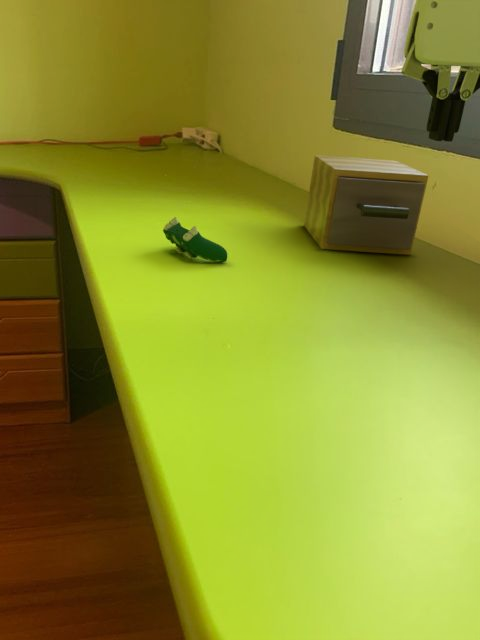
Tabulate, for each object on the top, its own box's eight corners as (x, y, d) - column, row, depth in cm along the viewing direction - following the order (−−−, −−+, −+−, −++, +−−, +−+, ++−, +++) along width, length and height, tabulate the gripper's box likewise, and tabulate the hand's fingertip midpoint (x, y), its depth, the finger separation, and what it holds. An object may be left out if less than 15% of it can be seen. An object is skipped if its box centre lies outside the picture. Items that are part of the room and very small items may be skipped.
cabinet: (410, 254, 98) (428, 175, 93) (321, 248, 98) (334, 168, 93) (381, 231, 112) (396, 160, 107) (303, 225, 112) (314, 155, 107)
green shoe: (180, 260, 95) (153, 230, 91) (198, 239, 95) (173, 208, 91) (212, 278, 88) (185, 247, 84) (232, 256, 87) (206, 223, 84)
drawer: (420, 258, 93) (436, 189, 89) (334, 252, 93) (346, 183, 89) (383, 227, 110) (395, 169, 106) (310, 223, 110) (320, 163, 105)
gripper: (544, -57, 69) (495, 139, 78) (395, -64, 69) (363, 133, 78) (582, -69, 63) (524, 147, 71) (418, -77, 63) (379, 140, 71)
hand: (440, 139), depth 75 cm, fingers closed
